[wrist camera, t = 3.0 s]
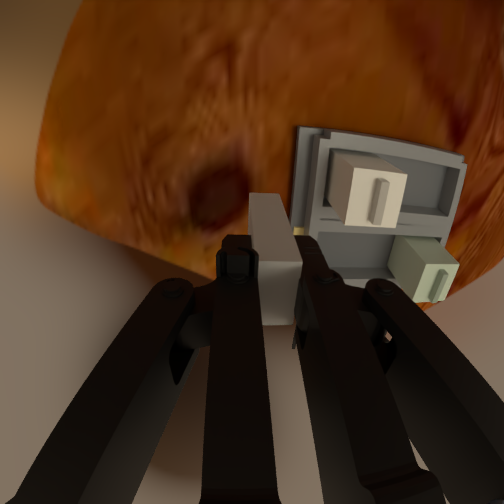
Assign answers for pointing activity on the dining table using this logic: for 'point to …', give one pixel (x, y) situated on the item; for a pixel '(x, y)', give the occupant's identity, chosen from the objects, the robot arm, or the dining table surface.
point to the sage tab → (422, 267)
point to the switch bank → (362, 237)
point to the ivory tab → (364, 188)
